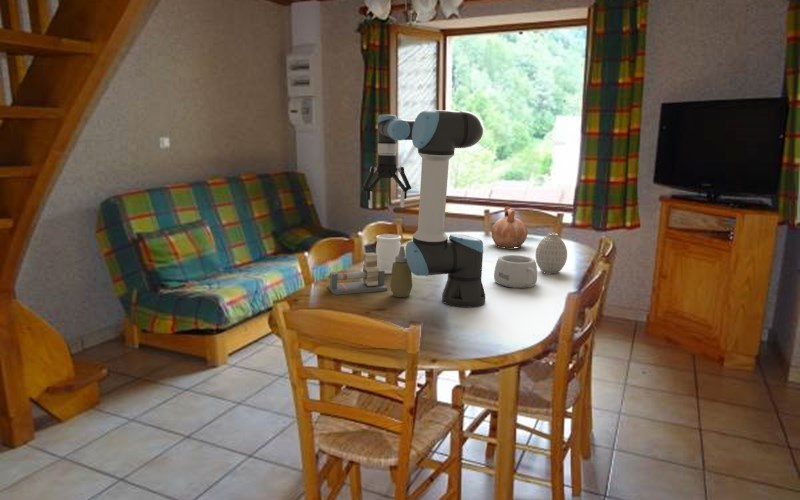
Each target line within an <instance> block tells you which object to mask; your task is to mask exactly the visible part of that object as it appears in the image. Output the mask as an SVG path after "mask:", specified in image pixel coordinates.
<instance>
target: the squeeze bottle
mask: <svg viewBox="0 0 800 500" xmlns="http://www.w3.org/2000/svg"><path fill="white" fill-rule="evenodd" d="M412 275H413V273H412V272H411V270H410V268H409V266H408V263H407V259H406V249H405V246H404V245H401V247H400V251H399V255H398V256H395V262H394V263H393V266H392V274H391V275H390V285H389V287H390V289H391V292H392V293H391V294H392V296H393V297H396V298H406V297H407V298H408V297H409V296H410V294H411V291H412V288H413V278H412V277H413V276H412Z"/></svg>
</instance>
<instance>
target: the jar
mask: <svg viewBox="0 0 800 500" xmlns="http://www.w3.org/2000/svg"><path fill="white" fill-rule="evenodd" d="M375 239H376V240H377V242H376V247H375V254H377V266H378V269H383V270H384V275H386V274H387V275H388V274H389V275H390V274H392V266H393V263H394V262H395V256H398V255H399V251H400V247H401V246H402V243H401V240H402V236H401V235H399V234H393V233H382V234H378V235H376V237H375Z"/></svg>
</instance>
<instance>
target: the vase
mask: <svg viewBox="0 0 800 500" xmlns="http://www.w3.org/2000/svg"><path fill="white" fill-rule="evenodd" d="M567 249H568V248H567V246H566V244H565V242H564V241H563V239H562V238H561V237H560V236H559V234H558V233H556V232H548V233H547V235H546V236H544V237H543V238H542V239H541V240H540V241H539V243H538V245H537V246H536V250H535V262H536V266H537V267H538V268H539V270H540V271H541V272H542V271H543V272H545V273H544V274H546V273H557V274H558V273H559V272H561V271H562V269H563V268H564V267H565V265H566V263H567V260H568V250H567ZM543 272H542V273H543Z"/></svg>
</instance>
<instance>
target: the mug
mask: <svg viewBox="0 0 800 500" xmlns="http://www.w3.org/2000/svg"><path fill="white" fill-rule="evenodd" d="M537 267H538V265H537V262H536V259H534V258H532V257H530V256H525V255H520V254H519V255H518V254H516V255H515V254H505V255H502V256H499V257H498V259H497V260H496V264H495V266H494V271H493V278H494V281H495V282H496V283H497V284H498V285H500V286H503V287H506V288H513V289H514V288H516V289H523V288H532V287H534V286H535V285H536V284H537V282H538V268H537Z"/></svg>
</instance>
